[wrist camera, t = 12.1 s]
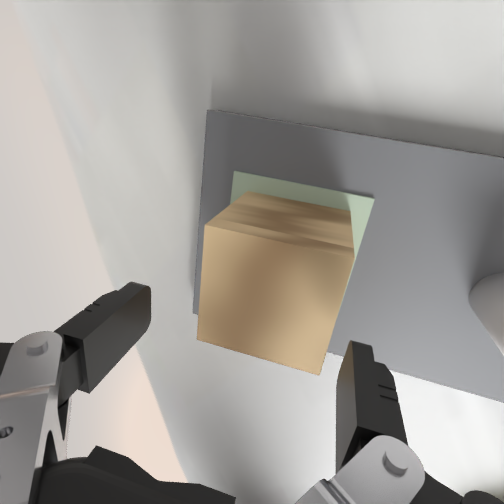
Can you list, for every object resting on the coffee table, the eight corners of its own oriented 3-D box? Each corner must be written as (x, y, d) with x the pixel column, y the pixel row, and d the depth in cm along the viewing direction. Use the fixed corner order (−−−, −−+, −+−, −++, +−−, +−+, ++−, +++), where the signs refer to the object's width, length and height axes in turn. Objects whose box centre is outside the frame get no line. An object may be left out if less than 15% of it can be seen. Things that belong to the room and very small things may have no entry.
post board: (539, 397, 21) (632, 531, 14) (200, 302, 25) (148, 370, 18) (697, 189, 15) (993, 250, 8) (216, 110, 19) (148, 107, 12)
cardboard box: (350, 211, 17) (354, 258, 12) (325, 300, 20) (319, 375, 14) (247, 191, 19) (204, 224, 13) (236, 278, 21) (196, 339, 15)
